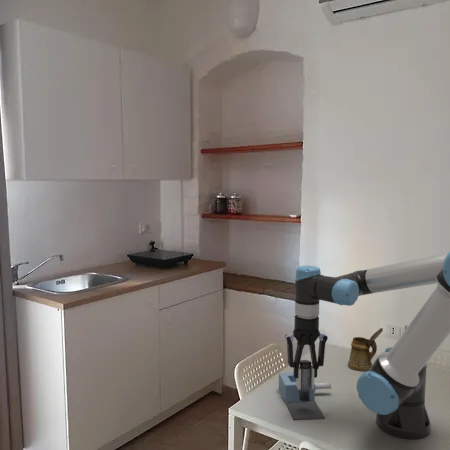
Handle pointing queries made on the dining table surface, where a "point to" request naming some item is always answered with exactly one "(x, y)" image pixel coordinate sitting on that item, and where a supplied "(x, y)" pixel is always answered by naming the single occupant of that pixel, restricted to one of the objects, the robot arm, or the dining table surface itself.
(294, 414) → the mat
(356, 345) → the wooden mug
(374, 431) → the dining table surface
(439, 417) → the dining table surface
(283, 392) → the block
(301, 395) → the bottle
